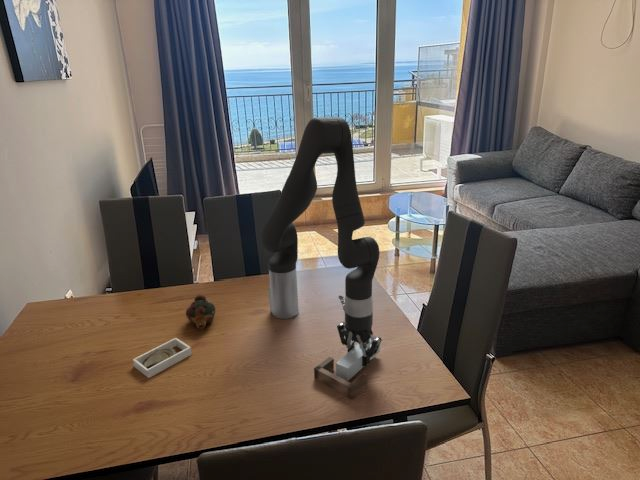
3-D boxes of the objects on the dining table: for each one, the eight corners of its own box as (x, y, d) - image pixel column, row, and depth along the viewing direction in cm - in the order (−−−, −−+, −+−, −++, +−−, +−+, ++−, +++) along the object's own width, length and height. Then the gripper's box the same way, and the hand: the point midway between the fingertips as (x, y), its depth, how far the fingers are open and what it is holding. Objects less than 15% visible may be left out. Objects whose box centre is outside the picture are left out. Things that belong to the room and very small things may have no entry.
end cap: (314, 378, 122) (314, 368, 120) (329, 367, 126) (329, 356, 125) (352, 399, 114) (352, 388, 112) (367, 386, 118) (367, 375, 117)
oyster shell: (155, 379, 130) (180, 353, 133) (152, 380, 127) (179, 353, 129) (140, 365, 131) (166, 339, 133) (137, 366, 127) (164, 339, 130)
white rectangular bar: (336, 375, 121) (335, 362, 119) (368, 346, 132) (368, 335, 131) (348, 380, 118) (348, 368, 117) (379, 351, 130) (379, 340, 128)
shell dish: (134, 366, 129) (132, 359, 128) (177, 344, 139) (175, 337, 138) (148, 378, 124) (147, 370, 123) (192, 354, 134) (190, 347, 133)
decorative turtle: (213, 308, 159) (212, 289, 156) (218, 332, 146) (217, 312, 143) (185, 312, 156) (183, 292, 153) (188, 337, 143) (186, 316, 140)
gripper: (329, 306, 121) (330, 358, 127) (372, 323, 112) (371, 379, 118) (346, 295, 126) (346, 346, 132) (388, 311, 117) (387, 365, 123)
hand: (358, 361), depth 125 cm, fingers closed on white rectangular bar, 4 cm apart
